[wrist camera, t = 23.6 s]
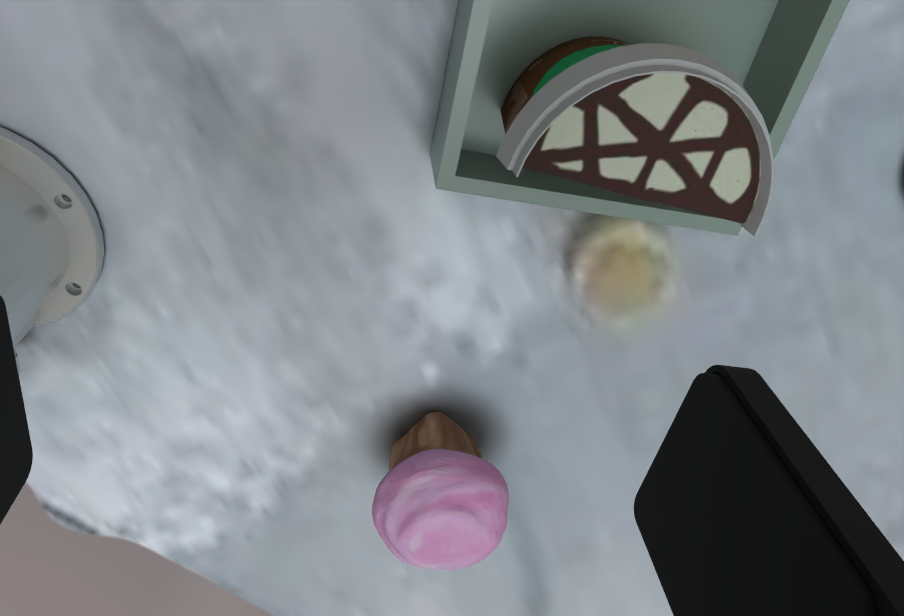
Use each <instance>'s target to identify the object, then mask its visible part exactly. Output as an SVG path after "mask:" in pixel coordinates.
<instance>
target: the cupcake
mask: <svg viewBox="0 0 904 616" xmlns="http://www.w3.org/2000/svg"><path fill="white" fill-rule="evenodd" d="M508 500H509V495H508V488H507V485H506V482H505V480H504V478H503V476H502V474H501V473H500V472H499V470H498V469H497V468H495V467H494V466H493V465H492V464H490V463H489V462H487V461H485V460H483V459H482V456H481V454H480V452H479V450H478V448H477V446H476V444H475V443H474V441H473V439H472V438H471V437H470V435H469V434H468V433H467V432H465V431H464V430H463V429H462V428H461V427H460V426H459V425H458V424H456V423H455V422H454V421H453V420H452V419H451V418H449V417H448V416H446V415H444V414H443V413H441V412H432V413H428V414H427V415H425V416H424V417H423V418H422V419H421V420H420V421H419V422H418V423H416V424H415V425H413V427H412V428H411V429H410V430H409V431H408V432H407V433H406V434H405V435H403V436H402V437H401V438H399V439H398V440H397V441H396V442H395V443H394V445H393V447H392V450H391V455H390V466H389V472H388V473H387V474H386V476H385V477H384V478H383V479H382V481H381V482H380V483H379V485H378V487H377V490H376V493H375V497H374V501H373V506H372V516H373V521H374V525H375V527H376V529H377V531H378V533H379V535H380V536H381V538H382V539H383V541H384V543H385V544H386V546H387V547H388V548H389V549H390V551H391V552H392V554H394V555H395V556H396V557H397V558H398V559H399V560H401V561H402V562H405V563H407V564H411V565H413V566H416V567H419V568H424V569H447V570H457V569H461V568H465V567H468V566H471V565H473V564H476V563H477V562H479V561H481V560H483V559H484V558H485V557H486V556H488V555H489V554H490V553H491V552H492V551H493V550H494V549H495V548H496V547H497V546H498V545H499V543H500V541H501V538H502V535H503V533H504V531H505V528H506V523H507V511H508Z"/></svg>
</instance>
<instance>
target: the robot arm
mask: <svg viewBox="0 0 904 616" xmlns="http://www.w3.org/2000/svg"><path fill="white" fill-rule="evenodd" d="M66 195H67V196H68V197H69V198H68V197H67V196H66ZM103 258H104V242H103V233H102V230H101V227H100V223H99V220H98V217H97V214H96V212H95V210H94V208H93V207H92V205H91V203H90V201H89V199H88V197H87V195H86V194H85V193H84V191H83V190H82V189H81V187H80V186H79V185H78V183H77V182H76V181H75V179H74V178H73V177H72V176H71V175H70V174H69V173H68V172H67V171H66V170H65V169H64V168H63V167H62V166H61V165H60V164H59V163H58V162H57V161H56V160H55V159H54V158H52V157H51V156H50V155H48V154H47V153H46V152H44V151H43V150H41V149H40V148H39V147H37V146H36V145H34V144H33V143H32V142H30V141H28V140H26V139H24V138H22V137H20V136H18V135H17V134H15V133H13V132H11V131H9V130H7V129H4V128H2V127H0V524H1V522H2V521H3V519H4V517H5V516H6V514H7V512H8V510H9V509H10V507H11V505H12V504H13V502H14V500H15V499H16V497H17V495H18V494H19V492H20V490H21V488H22V487H23V485H24V484H25V482H26V480H27V478H28V476H29V473H30V470H31V465H32V458H33V454H32V446H31V441H30V435H29V430H28V424H27V419H26V413H25V408H24V402H23V397H22V392H21V386H20V381H19V373H20V367H19V362H18V356H17V353H16V352H15V348H16V347H17V345H18V344H19V343H20V341H21V340H22V339H23V338H24V336H25V335H26V334H27V333H28V331H29V330H30V329H31V328H33V327H39V326H43V325H45V324H48V323H51V322H54V321H57V320H59V319H61V318H62V317H64V316H66V315H67V314H69V313H71V312H72V311H74V310H75V309H76V308H77V307H78V306H79V305H80V304H81V303H82V302H83V301H84V300H85V299H86V297H87V296H88V294H89V293H90V292H91V290H92V289H93V287H94V286H95V284H96V282H97V280H98V277H99V275H100V273H101V270H102V265H103ZM634 515H635V519H636V522H637V525H638V527H639V530H640V532H641V535H642V537H643V540H644V542H645V545H646V547H647V550H648V552H649V555H650V557H651V560H652V562H653V565H654V567H655V570H656V572H657V575H658V577H659V580H660V582H661V585H662V587H663V590H664V592H665V595H666V597H667V600H668V602H669V605H670V607H671V610H672V612H673V615H674V616H904V561H903V560H902V558H901V557H900V556H899V555H898V553H897V552H896V551H895V549H894V548H893V547H892V545H891V544H890V543H889V542H888V540H887V539H886V538H885V536H884V535H883V534H882V533H881V531H880V530H879V529H878V527H877V526H876V525H875V523H874V522H873V521H872V520H871V518H870V517H869V516H868V514H867V513H866V512H865V510H864V509H863V508H862V507H861V505H860V504H859V503H858V501H857V500H856V499H855V498H854V496H853V495H852V494H851V492H850V491H849V490H848V488H847V487H846V486H845V485H844V483H843V482H842V481H841V479H840V478H839V477H838V475H837V474H836V473H835V472H834V470H833V469H832V468H831V466H830V465H829V464H828V463H827V461H826V460H825V459H824V457H823V456H822V455H821V453H820V452H819V451H818V450H817V448H816V447H815V446H814V444H813V443H812V442H811V440H810V439H809V438H808V437H807V435H806V434H805V433H804V431H803V430H802V429H801V428H800V426H799V425H798V424H797V422H796V421H795V420H794V418H793V417H792V416H791V415H790V413H789V412H788V411H787V409H786V408H785V407H784V406H783V404H782V403H781V402H780V400H779V399H778V398H777V396H776V395H775V394H774V393H773V391H772V390H771V389H770V387H769V386H768V385H767V383H766V382H765V381H764V380H763V378H762V377H761V376H760V374H758V373H757V372H756V371H755V370H752V369H749V368H741V367H732V366H723V365H714V366H711V367H710V368H709V369H707V371H706V372H705V373H701V374H699V375H698V376H696V378H695V379H694V381H693V383H692V385H691V387H690V389H689V391H688V393H687V395H686V397H685V399H684V401H683V403H682V405H681V407H680V409H679V411H678V413H677V415H676V417H675V419H674V421H673V423H672V425H671V427H670V429H669V431H668V433H667V435H666V437H665V439H664V441H663V443H662V445H661V447H660V449H659V451H658V453H657V455H656V457H655V459H654V461H653V463H652V465H651V467H650V469H649V471H648V473H647V475H646V477H645V479H644V481H643V483H642V485H641V487H640V489H639V491H638V493H637V495H636V498H635V502H634Z"/></svg>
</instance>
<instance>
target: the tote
mask: <svg viewBox="0 0 904 616" xmlns="http://www.w3.org/2000/svg"><path fill="white" fill-rule="evenodd" d="M848 2H849V0H459V2H458V8H457V13H456V18H455V24H454V29H453V34H452V39H451V45H450V50H449V55H448V60H447V66H446V71H445V76H444V82H443V87H442V92H441V97H440V103H439V108H438V113H437V119H436V124H435V129H434V134H433V140H432V145H431V150H430V158H431V163H432V169H433V174H434V180H435V186H436V189H441V190H448V191H454V192H461V193H467V194H473V195H480V196H486V197H493V198H499V199H506V200H512V201H518V202H525V203H531V204H538V205H544V206H551V207H557V208H563V209H570V210H576V211H583V212H589V213H596V214H602V215H608V216H615V217H621V218H628V219H634V220H641V221H647V222H653V223H660V224H666V225H673V226H679V227H686V228H692V229H698V230H705V231H711V232H718V233H724V234H731V235H737V236H738V234H739V232H740V230H741V228H742V226H741V225H740V224H739V223H737V222H733V221H729V220H725V219H721V218H717V217H713V216H709V215H705V214H701V213H697V212H694V211H690V210H685V209H681V208H676V207H672V206H667V205H662V204H657V203H652V202H647V201H642V200H638V199H634V198H631V197H628V196H624V195H621V194H618V193H614V192H611V191H608V190H605V189H601V188H598V187H594V186H591V185H587V184H583V183H580V182H576V181H572V180H569V179H565V178H561V177H557V176H554V175H549V174H545V173H536V172H533V171H530V170H527V169H523V168H522V169H521V171H520V173H519V176H518V177H516V176H515V174H514V173H513V171H512V170H508V169H506V167H505V166H504V165H503V164H502V163H501V161H500V160H499V159H498V158H497V157H496V155H497V152H498V150H499V147H500V145H501V143H502V140H503V138H504V136H505V130H504V126H503V121H502V116H501V108H502V106H503V103H504V101H505V98H506V96H507V94H508V92H509V90H510V89H511V87H512V85H513V84H514V82H515V81H516V79H517V78H518V77H519V76H520V74H521V73H522V72H523V70H524V69H525V68H526V67H528V66H529V65H530V64H531V63H532V62H533V61H534V60H535V59H536V58H538V57H539V56H540V55H542V54H543V53H545V52H546V51H547V50H549V49H551V48H553V47H555V46H557V45H559V44H561V43H564V42H567V41H570V40H573V39H576V38H583V37H590V36H593V37H608V38H612V39H617V40H620V41H622V42H625V43H628V44H630V45H634V44H641V43H654V44H670V45H675V46H680V47H684V48H689V49H692V50H694V51H696V52H699V53H701V54H703V55H706V56H708V57H710V58H712V59H713V60H715V61H716V62H717V63H719V64H720V65H722V66H723V67H725V68H726V69H727V70H728V71H729V72H730V73H731V74H732V75H733V76H734V77H735V78H736V79H737V80H738V81H739V82H740V83H741V84H742V86H743V87H744V89H745V90H746V91H747V93H748V94H749V96H750V97H751V99H752V100H753V102H754V103H755V105H756V107H757V108H758V110H759V111H760V113H761V115H762V116H763V119H764V122H765V125H766V127H767V130H768V133H769V136H770V142H771V148H772V154H773V160H774V158H775V156H776V154H777V152H778V150H779V148H780V145H781V143H782V141H783V139H784V137H785V135H786V133H787V131H788V129H789V127H790V124H791V122H792V120H793V118H794V116H795V114H796V112H797V110H798V108H799V106H800V103H801V101H802V99H803V97H804V95H805V93H806V91H807V89H808V87H809V84H810V82H811V80H812V78H813V76H814V74H815V72H816V70H817V68H818V66H819V63H820V61H821V59H822V57H823V55H824V53H825V51H826V49H827V47H828V45H829V42H830V40H831V38H832V36H833V34H834V32H835V30H836V28H837V26H838V24H839V21H840V19H841V17H842V15H843V13H844V11H845V9H846V7H847V5H848Z"/></svg>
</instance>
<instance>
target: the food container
mask: <svg viewBox="0 0 904 616" xmlns="http://www.w3.org/2000/svg"><path fill="white" fill-rule="evenodd" d="M501 116H502V121H503V126H504V130H505V136H504V138H503V140H502V143H501V145H500V147H499V150H498V152H497V155H496V157H497V158H498V159H499V160H500V161H501V163H502V164H503V165H504V166H505V167H506V169H508V170H512V171H513V173H514V174H515V176H516V177H518V176H519V173H520V171H521V169H522V168H523V169H527V170H530V171H533V172H536V173H545V174H549V175H554V176H557V177H561V178H565V179H569V180H572V181H576V182H580V183H583V184H587V185H591V186H594V187H598V188H601V189H605V190H608V191H611V192H614V193H618V194H621V195H624V196H628V197H631V198H634V199H638V200H642V201H647V202H652V203H657V204H662V205H667V206H672V207H676V208H681V209H685V210H690V211H694V212H697V213H701V214H705V215H709V216H713V217H717V218H721V219H725V220H729V221H733V222H737V223H739V224H740V225H741V226H742V227H744V228H745V229H746V230H747V231H748V232H750V233H751V234H752V235H753V236H755V237H756V235H757V233H758V231H759V229H760V227H761V225H762V223H763V221H764V219H765V216H766V213H767V210H768V207H769V204H770V200H771V194H772V189H773V183H774V160H773V154H772V148H771V142H770V136H769V133H768V130H767V127H766V125H765V122H764V119H763V116H762V115H761V113H760V111H759V110H758V108H757V107H756V105H755V103H754V102H753V100H752V99H751V97H750V96H749V94H748V93H747V91H746V90H745V89H744V87H743V86H742V84H741V83H740V82H739V81H738V80H737V79H736V78H735V77H734V76H733V75H732V74H731V73H730V72H729V71H728V70H727V69H726V68H725V67H723V66H722V65H720V64H719V63H717V62H716V61H715V60H713V59H712V58H710V57H708V56H706V55H703V54H701V53H699V52H696V51H694V50H692V49H689V48H684V47H680V46H675V45H670V44H654V43H641V44H634V45H630V44H628V43H625V42H622V41H620V40H617V39H612V38H608V37H593V36H590V37H583V38H576V39H573V40H570V41H567V42H564V43H561V44H559V45H557V46H555V47H553V48H551V49H549V50H547V51H546V52H545V53H543V54H542V55H540V56H539V57H538V58H536V59H535V60H534V61H533V62H532V63H531V64H530V65H529V66H528V67H526V68H525V69H524V70H523V72H522V73H521V74H520V76H519V77H518V78H517V79H516V81H515V82H514V84H513V85H512V87H511V89H510V90H509V92H508V94H507V96H506V98H505V101H504V103H503V106H502V108H501Z"/></svg>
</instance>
